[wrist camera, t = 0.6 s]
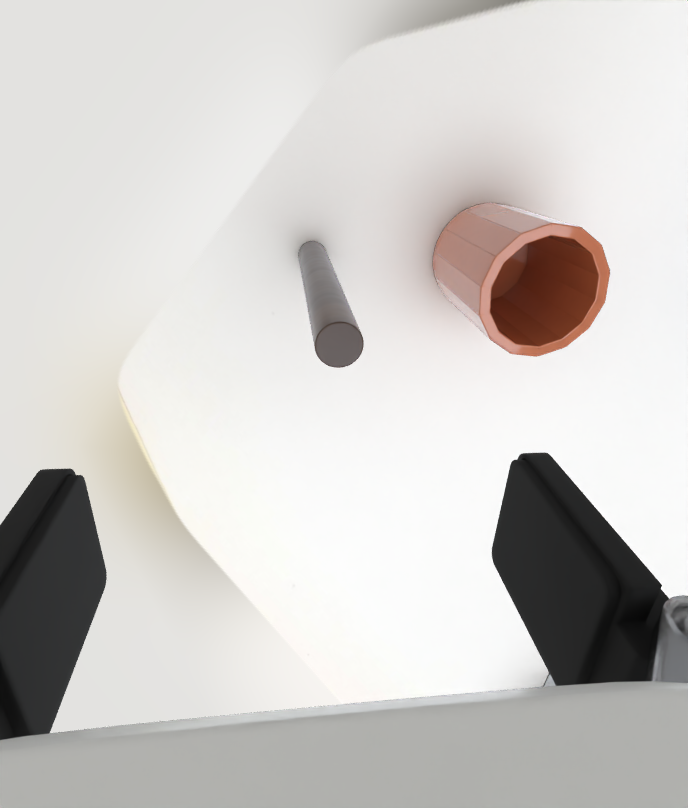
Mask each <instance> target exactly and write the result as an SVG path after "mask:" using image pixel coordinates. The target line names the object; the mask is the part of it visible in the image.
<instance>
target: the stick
mask: <svg viewBox="0 0 688 808" xmlns="http://www.w3.org/2000/svg"><path fill="white" fill-rule="evenodd" d="M298 256H299V263H300V268H301V274H302V279H303V285H304V290H305V296H306V302H307V307H308V313H309V318H310V324H311V329H312V335H313V341H314V346H315V351H316V354H317V356H318V357H319V359H320V360H321V361H322V362H323V363H325V364H326V365H328V366H331V367H345V366H348V365H350V364H352V363H353V362H355V361H356V360H357V359H358V358H359V356H360V355H361V353H362V350H363V337H362V334H361V332H360V330H359V327H358V325H357V323H356V320H355V318H354V316H353V313H352V311H351V309H350V306H349V304H348V302H347V299H346V297H345V294H344V292H343V290H342V287H341V285H340V283H339V280H338V278H337V276H336V273H335V271H334V269H333V266H332V264H331V262H330V259H329V257H328V255H327V252H326V250H325V248H324V247H323V245H322V244H320V243H318V242H315V241H309V242H307V243H305V244H303V245H302V247H301V248H300V250H299V254H298Z"/></svg>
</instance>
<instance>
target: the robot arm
mask: <svg viewBox="0 0 688 808" xmlns="http://www.w3.org/2000/svg"><path fill="white" fill-rule="evenodd" d="M492 558H493V562H494V565H495V567H496V569H497V571H498V573H499V575H500V577H501V579H502V581H503V583H504V585H505V587H506V589H507V591H508V593H509V595H510V596H511V598H512V600H513V602H514V604H515V606H516V608H517V610H518V612H519V614H520V616H521V618H522V620H523V622H524V624H525V626H526V628H527V630H528V632H529V634H530V636H531V638H532V640H533V642H534V644H535V646H536V648H537V649H538V651H539V653H540V655H541V657H542V659H543V661H544V663H545V665H546V667H547V669H548V671H549V673H550V675H551V677H552V679H553V681H554V683H555V685H556V686H549V687H535V688H523V689H512V690H500V691H488V692H477V693H465V694H453V695H441V696H430V697H418V698H407V699H396V700H385V701H374V702H362V703H351V704H340V705H330V706H319V707H308V708H297V709H286V710H275V711H265V712H254V713H243V714H234V715H223V716H214V717H202V718H192V719H181V720H171V721H161V722H151V723H141V724H130V725H120V726H111V727H102V728H93V729H84V730H76V731H67V732H58V733H50V731H51V728H52V725H53V722H54V720H55V717H56V715H57V712H58V709H59V707H60V704H61V702H62V699H63V696H64V694H65V691H66V688H67V686H68V683H69V681H70V678H71V675H72V673H73V670H74V667H75V665H76V662H77V660H78V657H79V654H80V651H81V649H82V646H83V644H84V641H85V639H86V636H87V633H88V631H89V628H90V625H91V623H92V620H93V617H94V615H95V612H96V609H97V607H98V604H99V602H100V599H101V596H102V594H103V591H104V588H105V585H106V568H105V564H104V559H103V555H102V551H101V547H100V543H99V538H98V534H97V530H96V525H95V521H94V517H93V513H92V509H91V504H90V500H89V496H88V492H87V487H86V483H85V480H84V477H83V476H81V475H75V472H74V471H73V470H72V469H45V470H40V471H39V472H38V473H37V474H36V476H35V477H34V478H33V480H32V481H31V483H30V484H29V485H28V487H27V488H26V490H25V491H24V493H23V494H22V495H21V497H20V498H19V500H18V501H17V503H16V504H15V505H14V507H13V508H12V510H11V511H10V512H9V514H8V515H7V516H6V518H5V519H4V521H3V522H2V524H1V525H0V808H688V596H684V595H683V596H676V597H672V598H670V599H669V598H668V597H667V596H666V595H665V593H664V592H663V591H662V590H661V586H662V585H661V584H660V582H659V581H658V580H657V579H656V578H655V577H654V575H653V574H652V573H651V572H650V571H649V570H648V569H647V567H646V566H645V565H644V564H643V563H642V562H641V560H640V559H639V558H638V557H637V556H636V555H635V553H634V552H633V551H632V550H631V549H630V548H629V546H628V545H627V544H626V543H625V542H624V541H623V539H622V538H621V537H620V536H619V535H618V534H617V532H616V531H615V530H614V529H613V528H612V527H611V525H610V524H609V523H608V522H607V521H606V520H605V518H604V517H603V516H602V515H601V514H600V513H599V512H598V510H597V509H596V508H595V507H594V506H593V505H592V503H591V502H590V501H589V500H588V499H587V498H586V496H585V495H584V494H583V493H582V492H581V491H580V489H579V488H578V487H577V486H576V485H575V484H574V482H573V481H572V480H571V479H570V478H569V477H568V475H567V474H566V473H565V472H564V471H563V470H562V468H561V467H560V466H559V465H558V464H557V463H556V461H555V460H554V459H553V458H552V457H551V456H550V455H549V454H548V453H523V454H521V455H520V456H519V457H518V460H514V461H512V463H511V466H510V470H509V474H508V479H507V483H506V488H505V492H504V497H503V501H502V506H501V510H500V515H499V519H498V524H497V528H496V533H495V538H494V542H493V547H492Z"/></svg>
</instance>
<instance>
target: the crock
mask: <svg viewBox="0 0 688 808" xmlns="http://www.w3.org/2000/svg"><path fill="white" fill-rule="evenodd" d="M433 271H434V276H435V279H436V282H437V284H438V286H439V288H440V289H441V291H442V292H443V294H444V296H445V297H446V298H447V299H448V300H449V301H450V302H451V303H453V304H454V305H455V306H456V307H457V308H458V309H459V310H460V311H461V312H462V313H463V314H464V315H465V316H466V317H467V318H468V319H469V320H470V321H471V322H472V323H473V324H474V325H476V326H477V327H478V328H479V329H480V330H481V331H482V332H483V333H484V334H485V335H486V336H487V337H488V338H489V339H490V340H491V341H493V342H494V343H496V344H497V345H499V346H500V347H502V348H503V349H505V350H506V351H507V352H509V353H511V354H517V355H527V356H541V355H544V354H547V353H550V352H553V351H556V350H559V349H562V348H564V347H566V346H568V345H569V344H570V343H571V342H573V341H574V340H575V339H576V338H578V337H579V336H580V335H581V334H582V333H584V332H585V331H586V330H587V329H588V328H589V327H590V326H591V324H592V323H593V321H594V319H595V318H596V316H597V314H598V313H599V311H600V309H601V308H602V306H603V304H604V303H605V300H606V294H607V288H608V282H609V275H610V270H609V267H608V263H607V260H606V257H605V254H604V251H603V247H602V245H601V244H600V243H599V242H598V241H597V240H596V239H595V238H593V237H592V236H591V235H590V234H589V233H588V232H586V231H585V230H584V229H583V228H582V227H579V226H576V225H572V224H569V223H566V222H562V221H559V220H556V219H552V218H549V217H546V216H542V215H539V214H536V213H532V212H529V211H526V210H522V209H519V208H516V207H513V206H507V205H502V204H498V203H483V204H478V205H475V206H472V207H470V208H468V209H465V210H464V211H462V212H461V213H459V214H458V215H457V216H455V217H454V218H453V219H452V220H451V221H450V222H449V223H448V224H447V226H446V227H445V228H444V230H443V231H442V233H441V235H440V236H439V239H438V241H437V243H436V246H435V250H434V255H433Z"/></svg>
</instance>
